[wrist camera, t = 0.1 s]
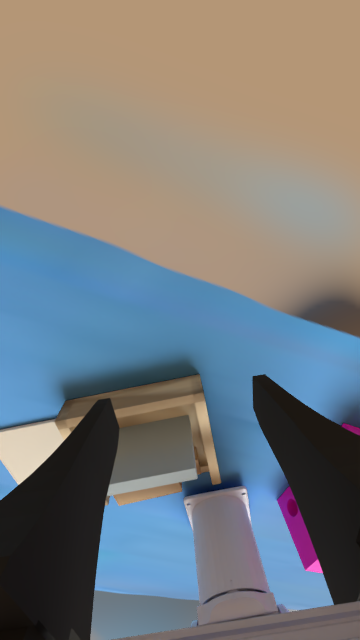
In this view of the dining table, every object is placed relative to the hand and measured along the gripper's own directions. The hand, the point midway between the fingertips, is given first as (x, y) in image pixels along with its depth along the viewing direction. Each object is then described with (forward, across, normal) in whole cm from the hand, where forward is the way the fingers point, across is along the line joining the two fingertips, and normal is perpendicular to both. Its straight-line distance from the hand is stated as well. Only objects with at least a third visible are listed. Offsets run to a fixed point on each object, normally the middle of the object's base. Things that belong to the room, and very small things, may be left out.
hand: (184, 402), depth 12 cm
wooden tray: (+11, +5, +13) cm, 18 cm away
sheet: (+10, +5, +12) cm, 16 cm away
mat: (+11, +18, +14) cm, 25 cm away
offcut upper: (+9, +6, +17) cm, 20 cm away
